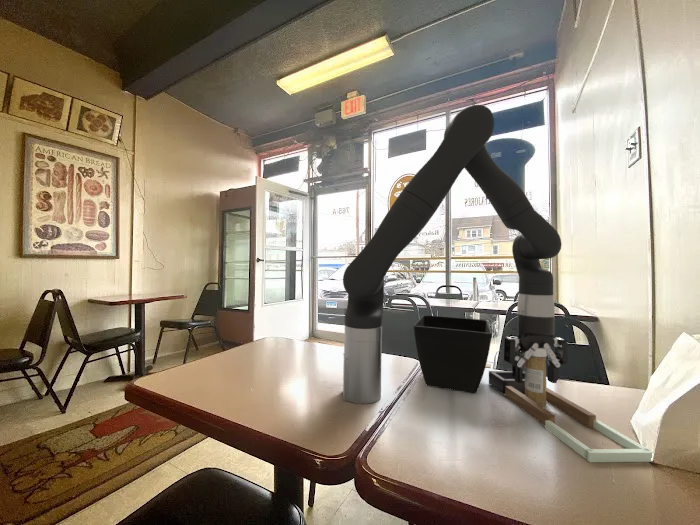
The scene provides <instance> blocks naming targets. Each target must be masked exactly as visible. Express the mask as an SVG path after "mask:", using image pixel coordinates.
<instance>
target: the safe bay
mask: <svg viewBox="0 0 700 525" xmlns="http://www.w3.org/2000/svg"><path fill="white" fill-rule="evenodd" d="M544 428H545V429H546V430H547V431H549V433H551V434H552V435H554V436H555V437H557V439H559V440H561V442H563V443H564V444H566V446H568V447H570V448H571V449H572V450H573V451H575V452H576V453H577V454H579V455H580V456H582V457H583V459H585V460H587V462H589V463H650V462H651V458H652V453H653V452H654V451H652V450H650V449H649V448H647V447H645V446H643V445H642V444H640V443H638V442H637V441H635V440H633V439H631V437H628V436H626V435H625V434H622V432H619V431H618V430H617V429H614V428H612V427H611V426H609V425H608V424H605V423H604V422H602V421H600V420H599V419H596V420H593V428H592V429H594V430H596V431H597V432H599V433H601V434H602V435H604V436H606V437H608V438H609V439H610V440H613V442H615V443H618V445H620V446H622V447H624V448H601V449H599V448H595V449H593V448H592V449H591V448H590V447H588V446H587V445H586V444H584V443H583V442H581V441H580V440H578V439H577V438H575V437H574V436H572V435H571V434H570V433H568V432H567V431H566V430H564V429H563V428H562V427H560V426H558V425H557V424H556V423H555V424H554V423H553V422H552V421H550V420H545V426H544Z"/></svg>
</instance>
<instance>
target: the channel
mask: <svg viewBox="0 0 700 525" xmlns="http://www.w3.org/2000/svg"><path fill="white" fill-rule="evenodd" d="M504 396H505V397H506V398H507V399H508V400H510V401H511V402H512V403H514V404H515V405H516V406H517V407H519V408H520V409H521V410H523V411H525V412H526V413H527V414H528V415H530V416H531V417H532V418H534V419H535V420H537V422H539V423H540V424H542V425H543V426H544V427H545V420H550V421H552V422H553V423H554V424H556V415H555V414H554V413H552V412H551V411H549V410H548V409H546V408H545V407H542V406H540V405H539V404H537V403H536V402H534V401H533V400H531V399H530V398H528V397H527V396H525V394H522V393H521V392H519V391H518V390H516V389H515V388H513V387H512V386H505V394H504ZM546 403H547V404H550V405H551V406H553V407H554V408H556V409H558V410H560V411H561V412H563V413H564V414H566V415H568V416H569V417H571V418H572V419H573V420H575V421H577V422H579V424H582V425H583V426H585V427H586V428H588V429H594V428H593V420H597V415H596V414H595V413H592V412H591V411H589V410H588V409H586V408H583V407H582V406H580V405H579V404H577V403H575V402H573V401H571V400H569V399H567V398H566V397H564V396H562V395H561V394H559V393H557V392H556V391H554V390H551V389H550V388H548V387H546Z"/></svg>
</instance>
